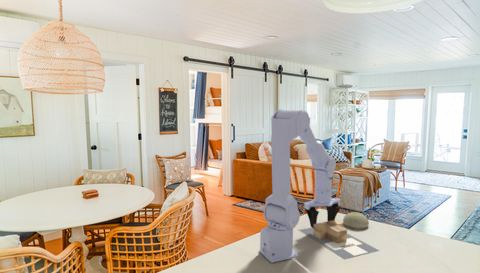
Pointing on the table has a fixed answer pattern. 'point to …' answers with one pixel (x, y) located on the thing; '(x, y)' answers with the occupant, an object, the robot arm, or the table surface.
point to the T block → (331, 231)
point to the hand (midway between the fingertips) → (321, 225)
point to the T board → (343, 245)
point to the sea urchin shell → (355, 220)
